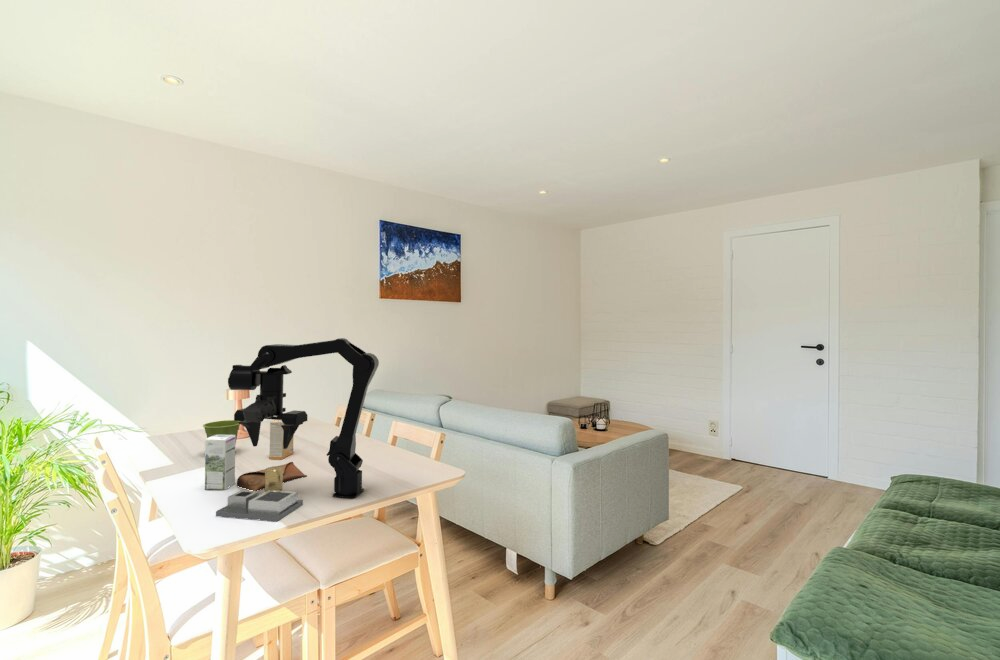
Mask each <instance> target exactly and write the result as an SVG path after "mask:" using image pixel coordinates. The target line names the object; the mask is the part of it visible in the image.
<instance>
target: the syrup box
mask: <svg viewBox="0 0 1000 660" xmlns="http://www.w3.org/2000/svg"><path fill="white" fill-rule="evenodd" d="M204 443H205V444H204V447H205V448H204V449H205V450H204V453H205V454H204V455H205V457H204V490H207V491H208V490H211V491H213V490H215V491H216V490H217V491H225V490H227V489H229V488H230V487H232V486H233V485H232V484H234V483H235V484H236V445H235V443H236V444H237V440H236V436H235V435H213V436H211V437H209V438H207V437H206V438H205V442H204ZM235 484H234V485H235ZM231 485H232V486H231ZM229 486H230V487H229ZM228 487H229V488H228ZM226 488H227V489H226Z"/></svg>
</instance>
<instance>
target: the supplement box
mask: <svg viewBox="0 0 1000 660" xmlns="http://www.w3.org/2000/svg"><path fill="white" fill-rule="evenodd" d="M281 425H284V423H283V422H282V420H273V421H270V422H269V456H268V457H269V460H284V459H285V458H287V457H288V456H290V455H292V454H294V437H295V434H294V435H293V437H292V439H291V441H290V443H289V445H288V447H287V448H286V449H284V447H283V433H284V430H283V429H282V427H281Z"/></svg>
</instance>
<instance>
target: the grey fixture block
mask: <svg viewBox="0 0 1000 660" xmlns="http://www.w3.org/2000/svg"><path fill="white" fill-rule="evenodd" d="M303 504H304V499H299V492H298V491H290V490H289V491H288V490H286V491H285V490H282V491H277V490H268V491H267V492H265V491H264V492H262V493H261V494H260V490H259V491H249V490H246V489H244V490H243V489H241V490H239V491H237V492H235V493H233V494H230V495H228V496H227V504H226V506H224V507H222V508H219V509H218V510H216V511H215V517H217V516H222V517H221V518H229V517H235V518H234V519H240V518H248V519H247V520H252V519H260V520H259V521H263V520H267V522H275V521H276V522H279V521H280V520H282V519H283V518H285V517H286V516H288V515H289V514H291V513H292V512H293V511H295V510H297V509H298V508H300V507H301V506H303Z"/></svg>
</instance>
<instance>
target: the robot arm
mask: <svg viewBox="0 0 1000 660" xmlns="http://www.w3.org/2000/svg"><path fill="white" fill-rule="evenodd" d="M330 354H339V355H340V356H341V357H342V358H343V359H344V360H345V362H347V363H349V364H350V365H352V387H351V391H350V394H349V399H348V403H347V407H346V409H345V413H344V414H345V415H344V417H343V421H342V425H341V429H340V433H339V435H335V436H334V437H333V438H332V439H331V440H330V441H329V442H330V443H329V449H328V452H327V453H326V456H328V457H327V458H328V459H327V460H328V464H329V465H330V466H331V467H332V468H333V469H334V472H335V477H334V479H333V482H334V483H333V492H334V493H333V494H332V497H334V498H344V499H345V498H347V499H355V498H357V497H358V496H359V495H360V493H361V492H362V493H363V492H364V491H365V488H363V470H361V467H362V465H363V461H364V460H363V459H362V458H361V456H360V455H358V454H357V453H356V447H357V441H356V437H357V436H356V434H357V429H358V427H359V426H358V425H359V423H360V419H361V414H362V410H363V407H364V404H365V399H366V395H367V391H368V388H369V385H370V383H371V382H372V380H373V378H374V376H375V374H376V372H377V371H378V370H377V369H378V367H379V364H380V362H379V359H378V357H377V356H376V355H375V354H373V353H371V352H366V351H365V350H363V349H361V348H360V347H358V346H357V345H355V344H353V343H352V342H351V341H349V340H348V339H347V338H345V337H342V338H341V337H339V338H337V339H336V338H335V339H333V340H331V339H330V340H326V341H318V342H311V343H304V344H303V343H302V344H282V343H281V344H280V343H279V344H278V343H277V344H266V345H263V346H261V347H260V349H259V350H258V352H257V357H256V358H255V359H254V361H253V362H252V363H251V364H250V365H243V364H234V365H232V370H231V371H230V373H229V376H228V378H227V385H228V388H229V389H230V390H231V391H255V390H256V388H257V387H259V394H256V396H255V401H254V402H253V403H251V404H250V405H248V406H246V407H245V408H240V409H236V411H235V412H234V414H233V420H234V421H240V422H238V423H239V424H240V425H242V426H243V427H244V428H245V429H246V431H247V433H248V436H249V438H250V442H251V443H252V446H253V447H257V446H258V444H259V440H260V432H261V425H262V422H263V421H264V420H273V421H274V420H282V422H283V423H284V425H281V427H282V429H283V430H284V433H283V447H284V449H286V448H287V447H288V445H289V443H290V441H291V439H292V437H293V435H294V436H295V433H296V431H297V430H298V428H299V426H300V425H303V424H304V423H305V422H308V413H307V412H306V411H305V410H291V411H290V410H289V411H287V412H286V407H283V406H284V405H283V404H284V398H286V397H287V393H286V392H284V375H290V374H292V372H293V371H292V370H291V369H290V368H288V366H287V364H286V365H285V363H288V362H291V361H294V360H298V359H300V358H301V359H302V358H308V357H314V356H321V355H323V356H324V355H330ZM282 364H284V365H282ZM277 365H281V366H280V367H273V366H277ZM263 369H267V370H263ZM293 438H294V437H293ZM357 495H358V496H357ZM356 496H357V497H356Z"/></svg>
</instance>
